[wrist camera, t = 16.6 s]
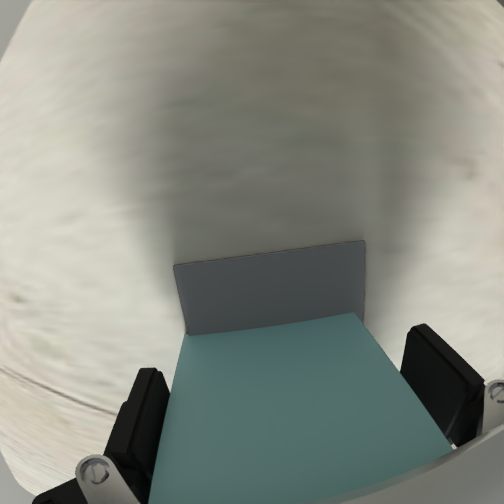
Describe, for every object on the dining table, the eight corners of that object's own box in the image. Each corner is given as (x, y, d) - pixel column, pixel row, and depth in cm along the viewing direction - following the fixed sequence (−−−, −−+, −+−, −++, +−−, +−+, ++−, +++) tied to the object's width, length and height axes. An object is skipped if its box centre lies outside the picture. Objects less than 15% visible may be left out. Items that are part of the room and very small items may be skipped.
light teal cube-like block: (352, 310, 13) (458, 457, 4) (343, 417, 15) (390, 536, 7) (184, 334, 13) (146, 517, 4) (216, 436, 15) (215, 566, 6)
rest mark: (363, 240, 12) (365, 241, 12) (355, 382, 14) (357, 384, 14) (173, 265, 12) (172, 266, 11) (209, 405, 14) (209, 408, 14)
